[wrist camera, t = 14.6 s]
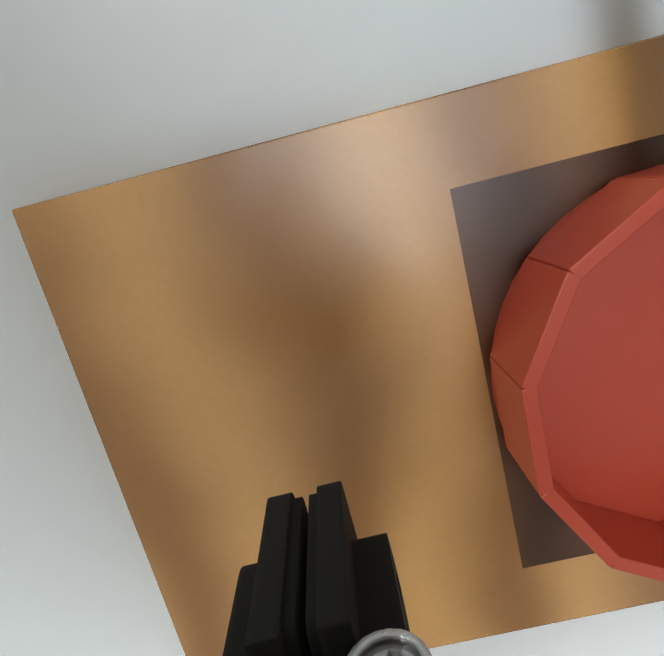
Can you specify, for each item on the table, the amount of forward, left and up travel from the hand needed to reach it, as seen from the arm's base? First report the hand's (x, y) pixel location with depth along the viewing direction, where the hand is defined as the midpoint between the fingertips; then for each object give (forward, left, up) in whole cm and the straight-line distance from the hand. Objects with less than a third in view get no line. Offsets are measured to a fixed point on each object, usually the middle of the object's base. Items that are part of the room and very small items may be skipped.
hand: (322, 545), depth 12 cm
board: (+7, -2, -10) cm, 12 cm away
